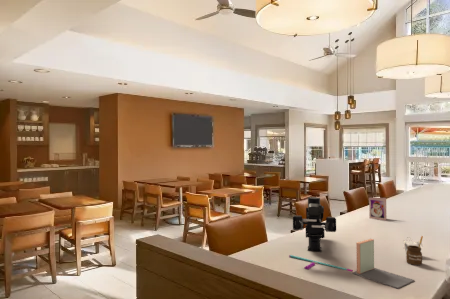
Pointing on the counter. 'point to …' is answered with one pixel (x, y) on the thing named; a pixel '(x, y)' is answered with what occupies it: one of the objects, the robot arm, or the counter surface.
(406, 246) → the elephant figurine
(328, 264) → the squeegee
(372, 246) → the ceramic tile
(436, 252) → the counter surface
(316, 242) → the robot arm
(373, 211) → the greeting card
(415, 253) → the utensil holder
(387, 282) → the rubber mat
